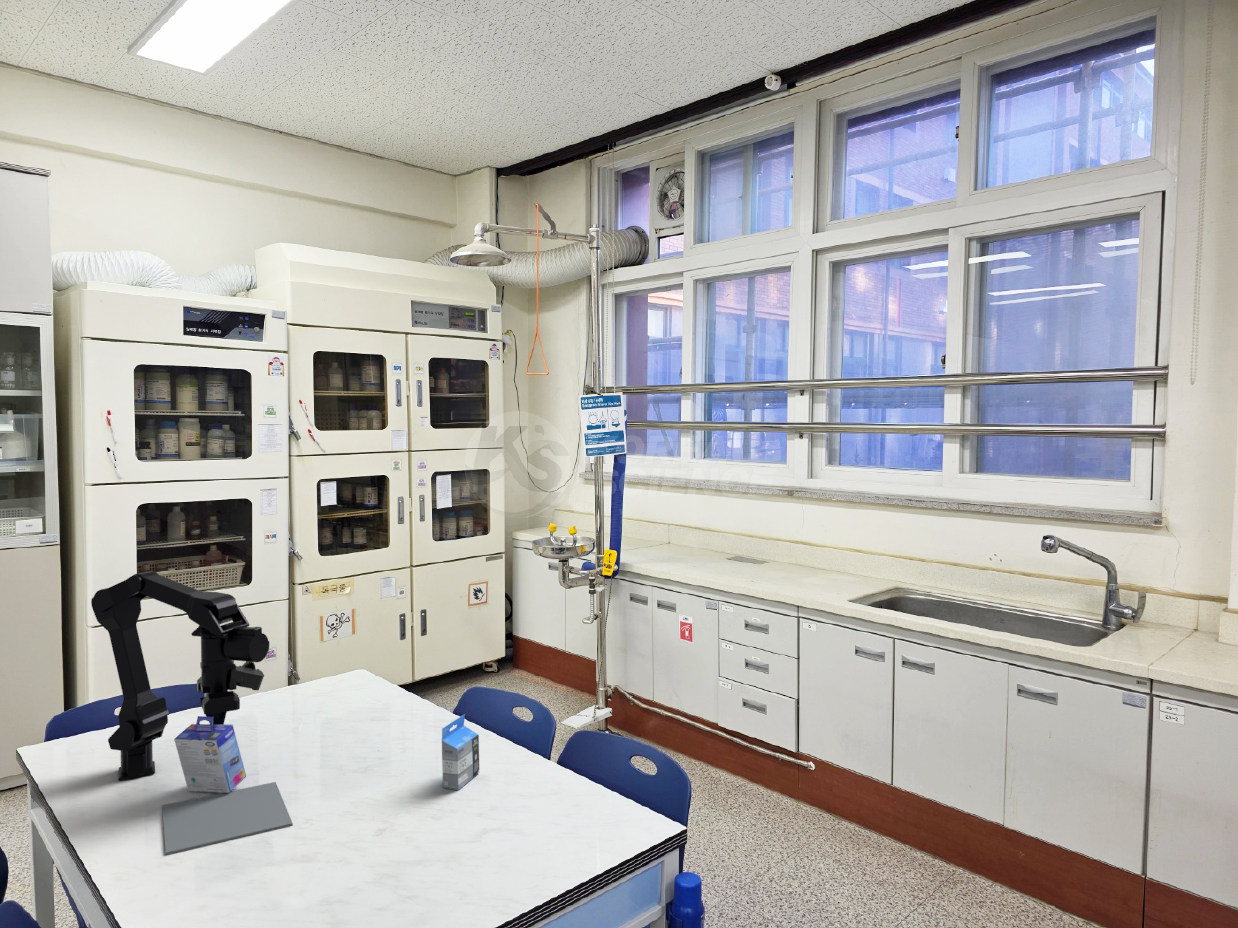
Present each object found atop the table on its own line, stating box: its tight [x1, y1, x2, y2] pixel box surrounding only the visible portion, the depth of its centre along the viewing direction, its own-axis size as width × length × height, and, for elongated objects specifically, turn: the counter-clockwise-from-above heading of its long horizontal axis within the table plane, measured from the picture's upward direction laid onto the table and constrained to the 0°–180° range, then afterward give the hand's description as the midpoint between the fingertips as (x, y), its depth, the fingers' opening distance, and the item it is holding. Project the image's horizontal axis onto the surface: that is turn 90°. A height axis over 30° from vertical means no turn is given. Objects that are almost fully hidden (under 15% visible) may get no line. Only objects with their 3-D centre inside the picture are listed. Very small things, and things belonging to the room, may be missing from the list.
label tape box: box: [441, 713, 480, 791], centre depth 163 cm, size 9×4×12 cm, turn 161°
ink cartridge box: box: [173, 715, 247, 793], centre depth 156 cm, size 10×6×14 cm, turn 79°
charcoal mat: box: [161, 781, 293, 856], centre depth 147 cm, size 20×20×1 cm
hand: (218, 734), depth 160 cm, fingers closed
